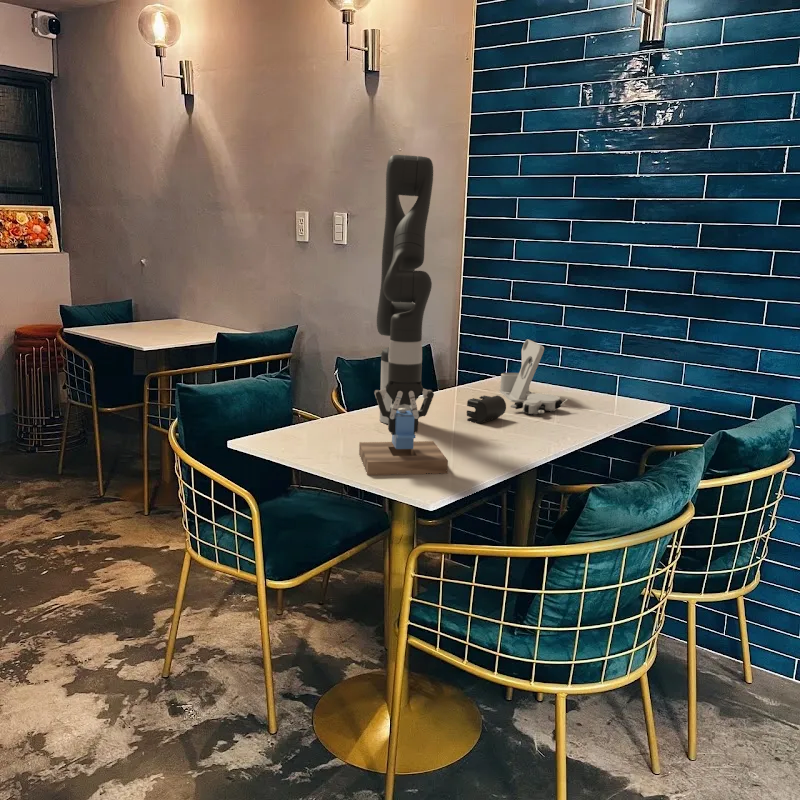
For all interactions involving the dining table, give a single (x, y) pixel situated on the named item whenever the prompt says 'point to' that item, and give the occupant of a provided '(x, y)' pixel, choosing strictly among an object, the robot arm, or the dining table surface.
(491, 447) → the dining table surface
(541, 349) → the phone holder
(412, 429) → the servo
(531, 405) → the robot toy
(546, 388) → the dining table surface
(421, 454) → the board
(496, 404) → the end cap
